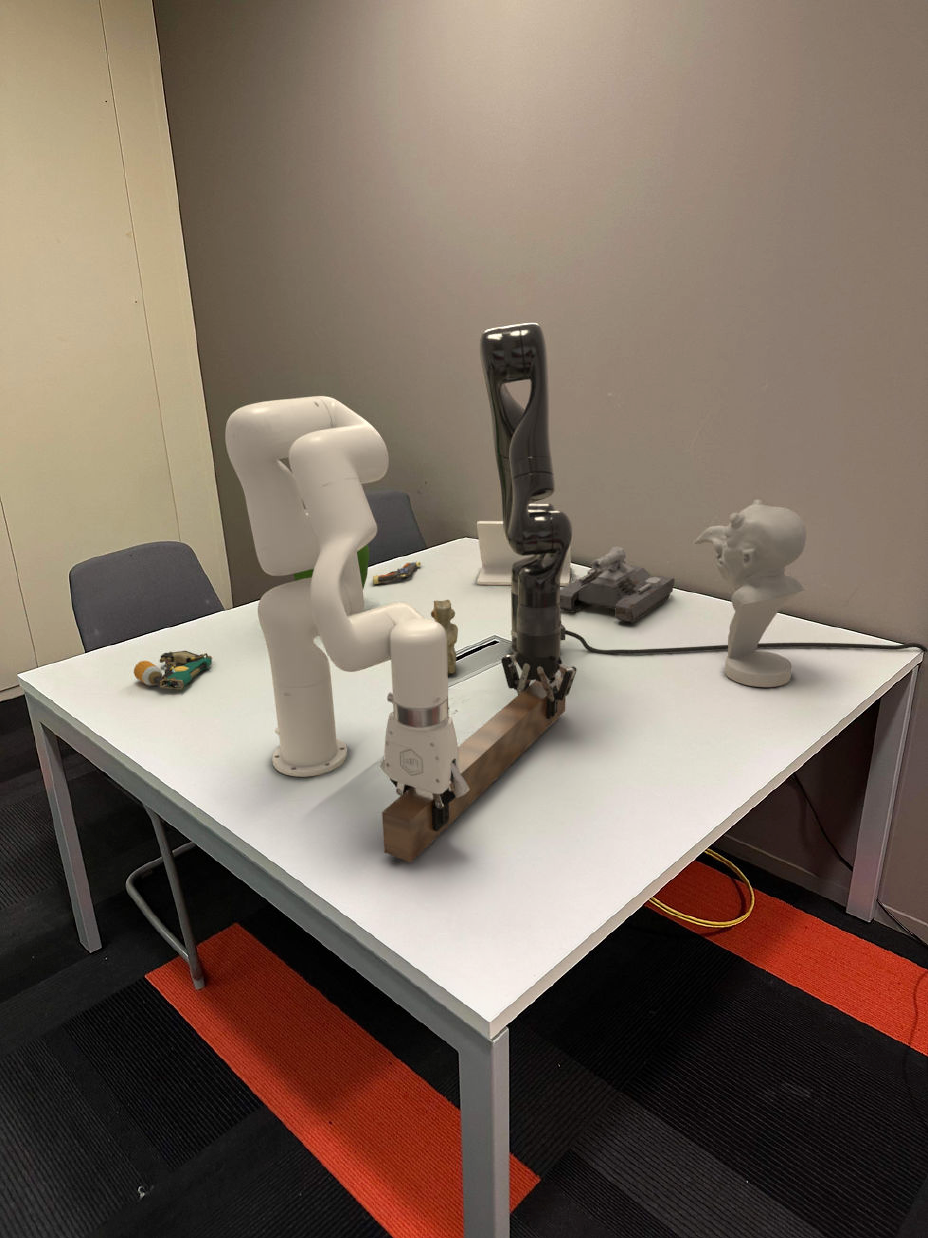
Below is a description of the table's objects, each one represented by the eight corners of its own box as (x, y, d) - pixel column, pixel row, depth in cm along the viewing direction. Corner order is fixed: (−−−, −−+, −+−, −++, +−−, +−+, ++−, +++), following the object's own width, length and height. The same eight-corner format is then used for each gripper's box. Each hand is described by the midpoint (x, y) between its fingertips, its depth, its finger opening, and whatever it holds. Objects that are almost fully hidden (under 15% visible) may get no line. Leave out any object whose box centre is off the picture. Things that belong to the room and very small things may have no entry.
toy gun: (370, 576, 233) (405, 573, 231) (388, 561, 251) (421, 558, 249) (371, 586, 234) (406, 583, 232) (389, 570, 252) (422, 567, 250)
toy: (603, 584, 229) (605, 530, 224) (673, 597, 218) (677, 540, 213) (555, 612, 210) (556, 553, 205) (630, 627, 199) (633, 566, 194)
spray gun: (177, 659, 191) (231, 671, 185) (120, 684, 176) (176, 698, 171) (176, 641, 190) (230, 653, 184) (118, 665, 175) (174, 678, 169)
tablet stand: (569, 585, 229) (570, 524, 223) (476, 584, 232) (475, 523, 226) (570, 566, 246) (571, 508, 240) (484, 564, 249) (483, 507, 243)
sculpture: (458, 662, 183) (456, 596, 178) (460, 676, 176) (457, 608, 171) (431, 663, 183) (428, 597, 177) (431, 677, 176) (428, 609, 171)
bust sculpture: (725, 639, 191) (739, 484, 178) (813, 678, 171) (835, 506, 158) (670, 654, 184) (680, 494, 171) (754, 696, 164) (772, 518, 151)
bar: (543, 705, 160) (544, 672, 158) (565, 710, 158) (566, 677, 156) (384, 852, 119) (381, 812, 117) (410, 863, 117) (409, 821, 115)
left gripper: (354, 705, 118) (362, 817, 124) (459, 735, 110) (461, 853, 116) (386, 684, 124) (392, 792, 130) (488, 711, 116) (488, 824, 122)
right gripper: (491, 625, 147) (492, 714, 153) (568, 640, 140) (565, 732, 146) (511, 611, 153) (512, 697, 159) (586, 625, 146) (583, 714, 152)
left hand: (425, 819), depth 123 cm, fingers closed on bar, 4 cm apart
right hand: (537, 713), depth 153 cm, fingers closed on bar, 4 cm apart
